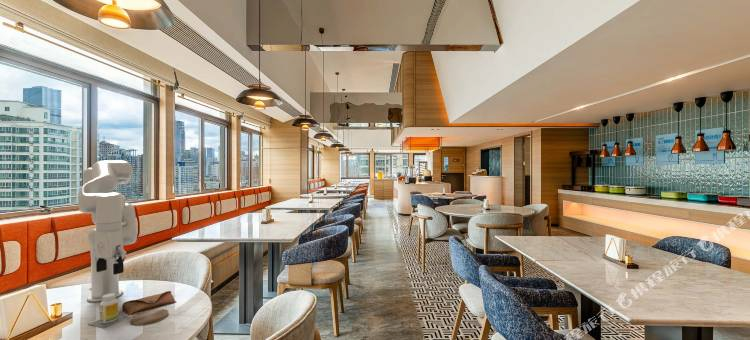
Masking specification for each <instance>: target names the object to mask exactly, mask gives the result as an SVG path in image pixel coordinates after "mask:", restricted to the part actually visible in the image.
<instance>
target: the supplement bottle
mask: <svg viewBox="0 0 750 340" xmlns="http://www.w3.org/2000/svg"><path fill="white" fill-rule="evenodd" d="M102 300H103V301H100V303H99V320H100V322H101V323H109V322H113V321H115V320H117V319H118V315H119V300H118V298H117V297H116V293H110V294H106V295H103V296H102Z"/></svg>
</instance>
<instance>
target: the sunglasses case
mask: <svg viewBox="0 0 750 340" xmlns="http://www.w3.org/2000/svg"><path fill="white" fill-rule="evenodd" d="M171 303H172V304H175V303H177V301H176V300H175V298H174V295H173V294H172V291H171V290H168V291H164V292H161V293H158V294H153V295H149V296H145V297H142V298H138V299H133V300H128V301H125V302H123V304H122V306H121V311H122V312H123V313H124V314H125V316H127V317H130V316H132V315H133V316H134V315H137V314H139V313H142V312H145V311H148V310H154V309H158V308H159V307H164V306H168V305H172V304H171ZM167 304H168V305H167Z"/></svg>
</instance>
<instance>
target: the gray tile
mask: <svg viewBox="0 0 750 340" xmlns="http://www.w3.org/2000/svg"><path fill="white" fill-rule="evenodd" d="M127 319H131V318H130V316H128V315H123V314H118V319H117V320H115V321H113V322H109V323H101V322H100V319H97V320H94V321H92V322H90V323H87V325H88V326H93V327H97V328H100V329H105V328H108V327H110V326H113V325H115V324H117V323H120V322H123V321H125V320H127Z"/></svg>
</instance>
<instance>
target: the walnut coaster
mask: <svg viewBox="0 0 750 340" xmlns="http://www.w3.org/2000/svg"><path fill="white" fill-rule="evenodd" d="M168 315H169V311H168V310H167V309H164V308H153V309H150V310H146V311H143V312H139V313H136V314H134V315H133V316H132V317H131V318H129V319H130V320H129V322H130V324H131V325H133V326H144V325H150V324H153V323H156V322H160V321H161V320H163V319H165V318H167V317H168Z"/></svg>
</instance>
